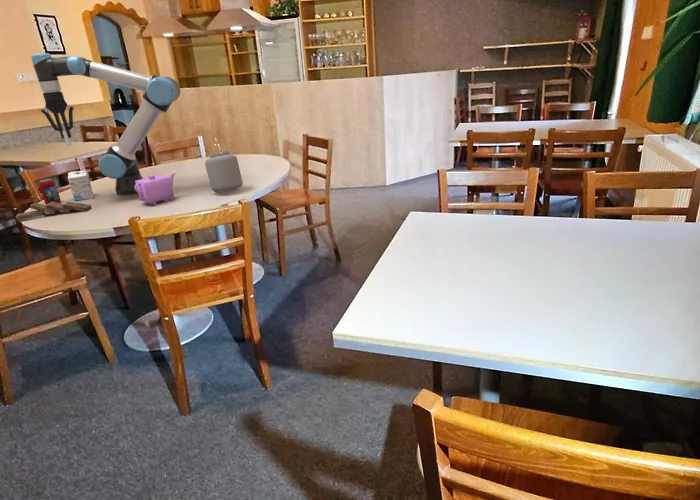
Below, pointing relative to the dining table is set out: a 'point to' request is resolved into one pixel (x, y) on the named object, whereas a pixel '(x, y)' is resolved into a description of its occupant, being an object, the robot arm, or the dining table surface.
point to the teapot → (155, 188)
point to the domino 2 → (34, 217)
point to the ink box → (80, 185)
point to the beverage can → (49, 191)
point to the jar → (223, 171)
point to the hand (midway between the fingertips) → (69, 145)
